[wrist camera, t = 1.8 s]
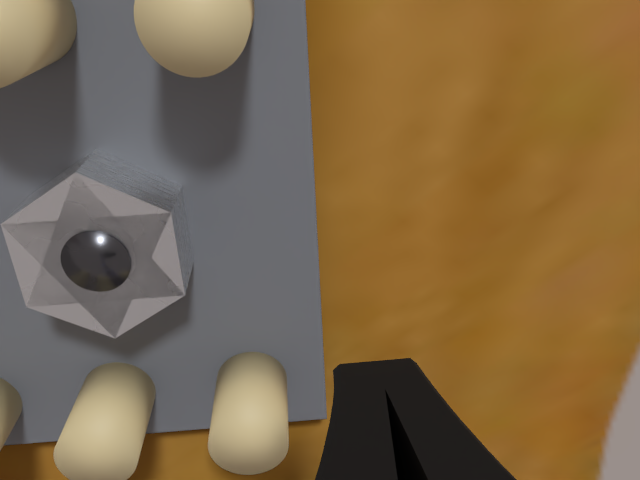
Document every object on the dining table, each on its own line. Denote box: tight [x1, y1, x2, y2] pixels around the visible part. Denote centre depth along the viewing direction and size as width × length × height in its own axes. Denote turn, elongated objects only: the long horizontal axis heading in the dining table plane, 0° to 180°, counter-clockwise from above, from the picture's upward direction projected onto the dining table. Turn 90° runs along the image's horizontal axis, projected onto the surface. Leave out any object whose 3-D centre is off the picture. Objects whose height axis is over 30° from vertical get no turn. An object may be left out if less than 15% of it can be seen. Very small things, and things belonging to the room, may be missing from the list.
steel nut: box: [1, 149, 194, 338], centre depth 17 cm, size 5×4×2 cm
